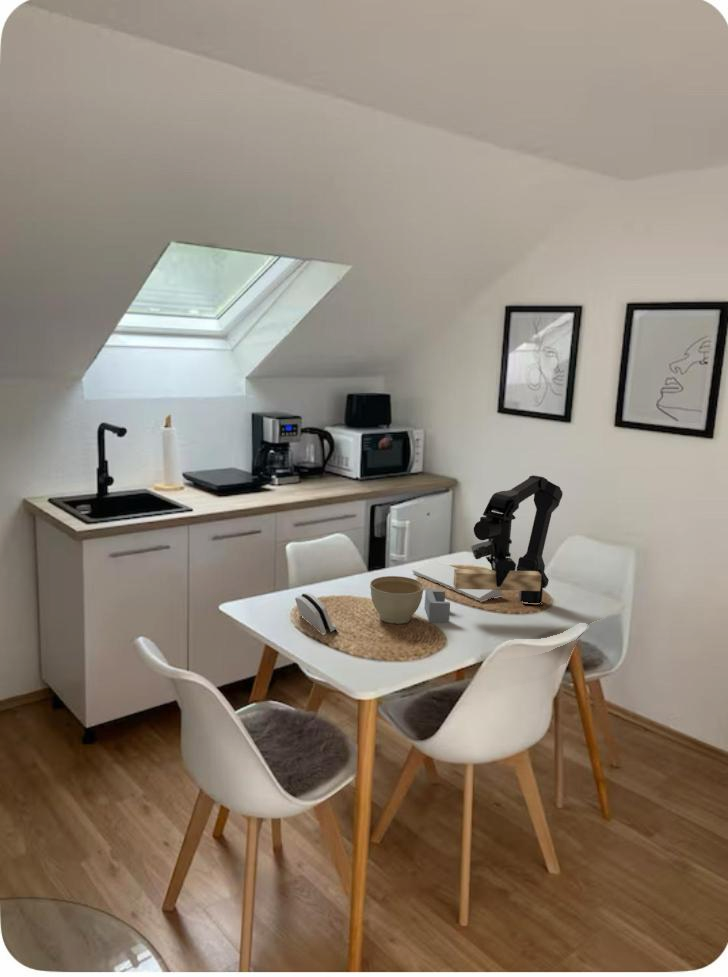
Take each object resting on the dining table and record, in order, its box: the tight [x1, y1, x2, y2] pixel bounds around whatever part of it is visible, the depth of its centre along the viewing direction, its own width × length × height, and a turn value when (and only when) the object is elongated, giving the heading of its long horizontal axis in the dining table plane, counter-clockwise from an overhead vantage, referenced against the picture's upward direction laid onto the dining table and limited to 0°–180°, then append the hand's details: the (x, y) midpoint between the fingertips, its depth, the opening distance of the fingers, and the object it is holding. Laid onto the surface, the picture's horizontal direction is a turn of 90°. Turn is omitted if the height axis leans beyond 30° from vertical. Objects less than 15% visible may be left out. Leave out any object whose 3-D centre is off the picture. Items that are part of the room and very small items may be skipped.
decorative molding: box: [411, 558, 503, 601], centre depth 260 cm, size 34×5×10 cm
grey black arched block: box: [295, 592, 339, 633], centre depth 219 cm, size 17×5×10 cm, turn 28°
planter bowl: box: [369, 575, 425, 625], centre depth 226 cm, size 16×16×11 cm
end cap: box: [424, 589, 451, 623], centre depth 231 cm, size 6×12×6 cm, turn 2°
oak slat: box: [453, 568, 542, 591], centre depth 230 cm, size 26×4×5 cm, turn 92°
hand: (496, 584), depth 230 cm, fingers closed on oak slat, 4 cm apart
